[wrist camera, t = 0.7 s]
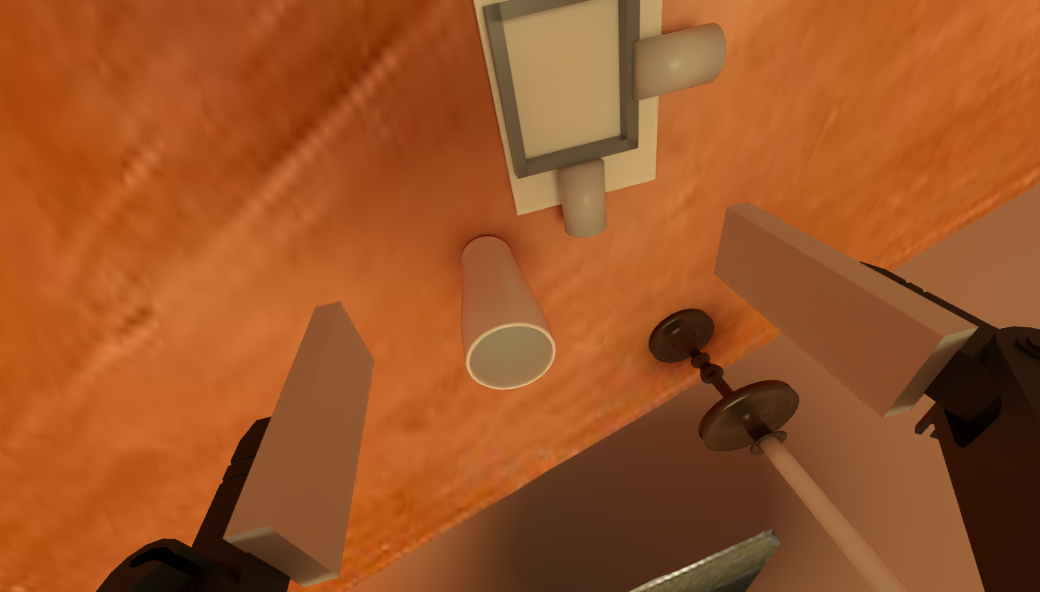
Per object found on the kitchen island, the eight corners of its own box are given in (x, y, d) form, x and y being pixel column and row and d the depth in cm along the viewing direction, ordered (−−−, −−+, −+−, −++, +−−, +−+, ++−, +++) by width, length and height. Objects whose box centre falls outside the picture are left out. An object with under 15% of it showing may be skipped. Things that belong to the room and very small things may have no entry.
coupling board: (458, -68, 24) (464, -86, 20) (703, -122, 25) (752, -149, 21) (519, 230, 37) (530, 253, 34) (677, 188, 38) (705, 206, 34)
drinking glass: (439, 251, 37) (444, 356, 25) (496, 214, 36) (529, 305, 24) (477, 294, 41) (497, 403, 29) (529, 262, 40) (572, 361, 28)
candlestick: (680, 369, 56) (926, 701, 28) (627, 353, 52) (859, 730, 24) (731, 316, 52) (1087, 652, 24) (678, 293, 47) (1041, 677, 19)
